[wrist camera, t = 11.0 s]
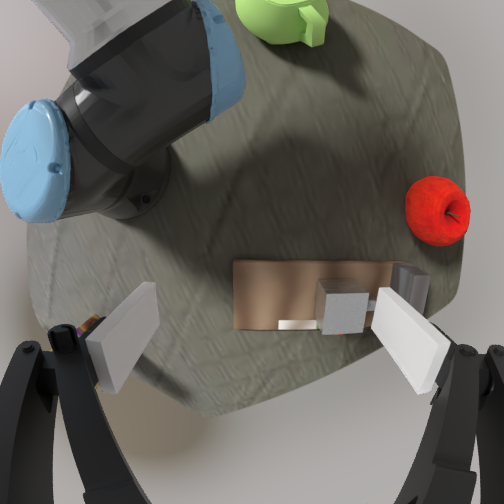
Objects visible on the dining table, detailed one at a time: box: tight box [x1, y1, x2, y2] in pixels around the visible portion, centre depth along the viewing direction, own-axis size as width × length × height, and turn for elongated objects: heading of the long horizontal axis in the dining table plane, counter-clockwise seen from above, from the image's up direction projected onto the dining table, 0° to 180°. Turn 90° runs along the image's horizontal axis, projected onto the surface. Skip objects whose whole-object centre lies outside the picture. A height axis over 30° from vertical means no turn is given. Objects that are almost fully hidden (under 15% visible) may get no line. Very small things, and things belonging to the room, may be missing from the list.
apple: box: [405, 176, 471, 246], centre depth 33 cm, size 10×10×12 cm
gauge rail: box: [233, 260, 431, 330], centre depth 38 cm, size 28×11×8 cm, turn 90°
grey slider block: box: [314, 279, 377, 335], centre depth 38 cm, size 11×7×6 cm, turn 90°
